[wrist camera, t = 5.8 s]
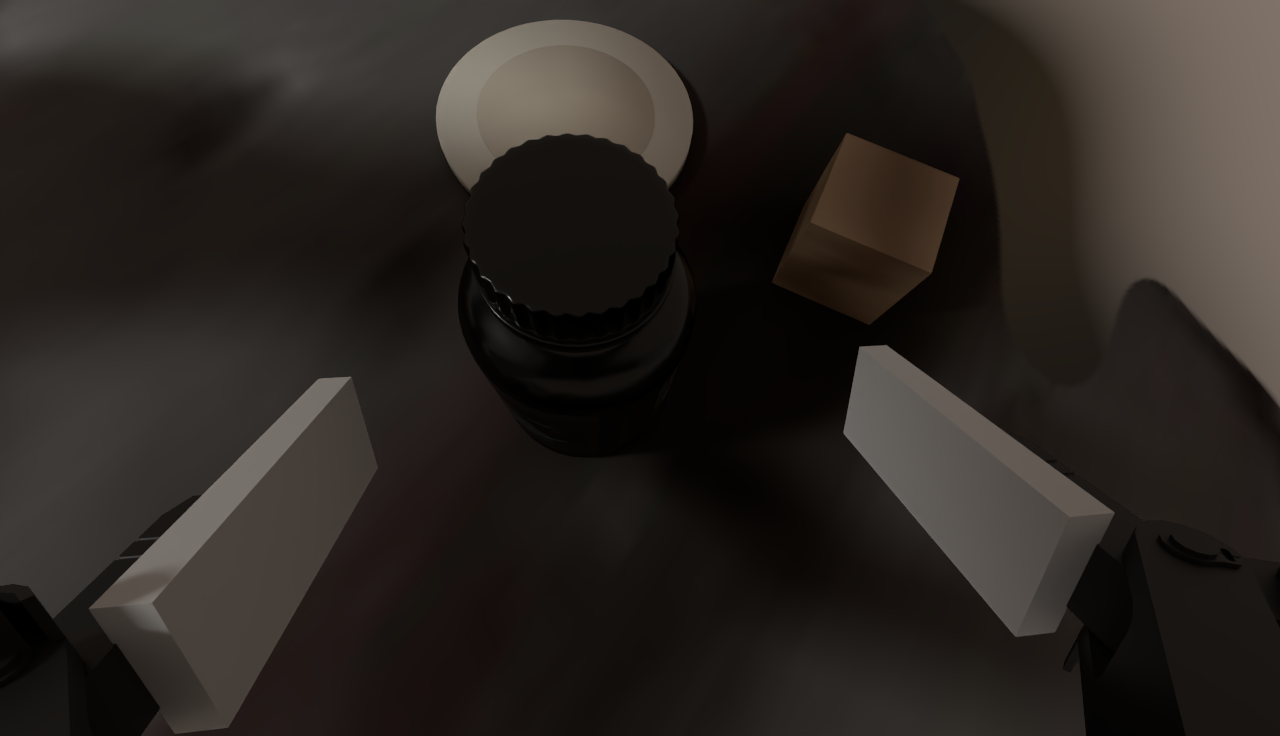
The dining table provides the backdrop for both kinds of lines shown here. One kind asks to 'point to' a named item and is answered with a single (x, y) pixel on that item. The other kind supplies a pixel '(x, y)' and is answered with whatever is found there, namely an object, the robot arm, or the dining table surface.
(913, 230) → the walnut block
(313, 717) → the dining table surface
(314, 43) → the dining table surface
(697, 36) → the dining table surface
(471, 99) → the plate
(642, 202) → the supplement bottle
